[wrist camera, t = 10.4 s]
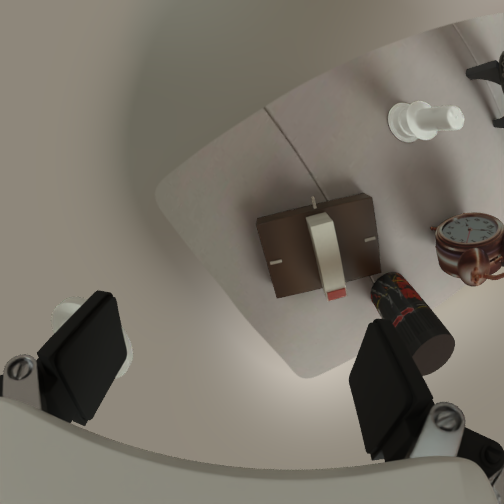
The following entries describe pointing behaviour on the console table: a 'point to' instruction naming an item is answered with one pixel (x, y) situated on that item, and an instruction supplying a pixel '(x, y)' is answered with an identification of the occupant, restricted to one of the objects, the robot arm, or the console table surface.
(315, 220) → the dial
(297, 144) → the console table surface
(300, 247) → the panel
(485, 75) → the planter
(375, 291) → the deodorant
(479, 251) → the alarm clock
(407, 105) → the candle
